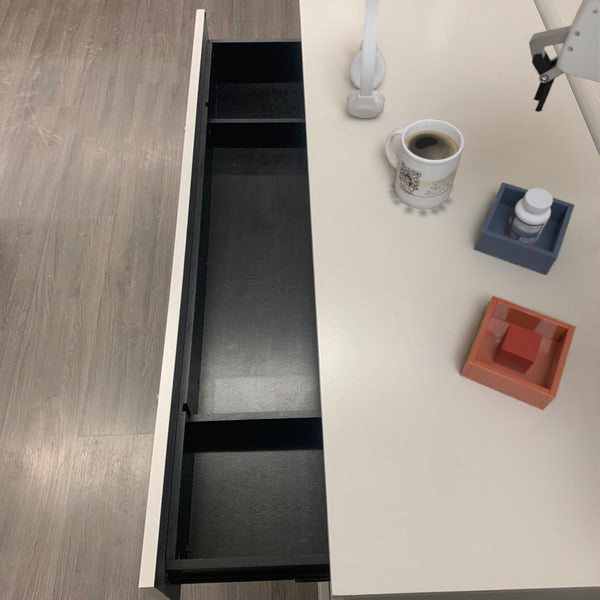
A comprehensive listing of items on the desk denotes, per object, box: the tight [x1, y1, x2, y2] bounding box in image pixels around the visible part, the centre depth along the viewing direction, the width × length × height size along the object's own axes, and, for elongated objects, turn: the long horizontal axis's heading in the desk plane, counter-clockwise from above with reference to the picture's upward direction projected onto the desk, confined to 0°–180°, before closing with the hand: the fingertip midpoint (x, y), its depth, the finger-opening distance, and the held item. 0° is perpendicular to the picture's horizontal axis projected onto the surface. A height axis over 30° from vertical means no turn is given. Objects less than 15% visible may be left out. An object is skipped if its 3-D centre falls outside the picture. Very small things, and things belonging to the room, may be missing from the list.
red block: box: [493, 323, 543, 374], centre depth 73 cm, size 4×4×4 cm
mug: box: [384, 118, 465, 210], centre depth 89 cm, size 10×12×11 cm
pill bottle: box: [505, 187, 554, 245], centre depth 83 cm, size 5×5×9 cm
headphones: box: [346, 0, 387, 119], centre depth 97 cm, size 7×18×20 cm, turn 174°
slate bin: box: [473, 181, 575, 276], centre depth 85 cm, size 12×12×5 cm
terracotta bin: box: [459, 295, 577, 411], centre depth 74 cm, size 12×12×5 cm
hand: (579, 115), depth 66 cm, fingers open, 9 cm apart
